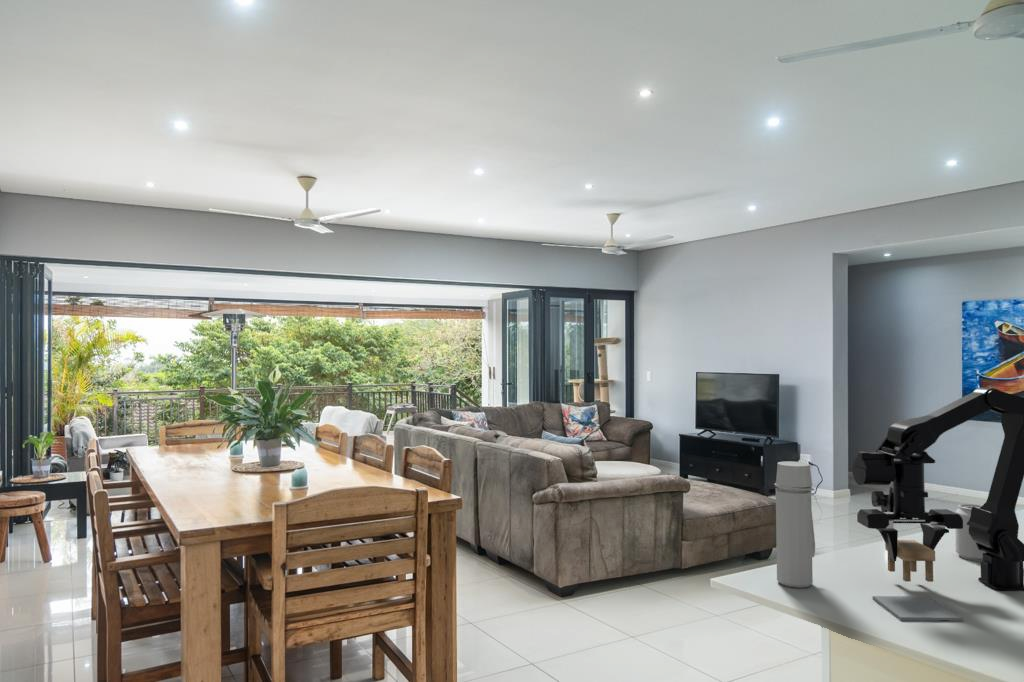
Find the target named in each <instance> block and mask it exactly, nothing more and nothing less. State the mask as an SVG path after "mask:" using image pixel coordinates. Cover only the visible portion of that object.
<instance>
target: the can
mask: <svg viewBox="0 0 1024 682" xmlns="http://www.w3.org/2000/svg"><path fill="white" fill-rule="evenodd" d="M983 505H984V504H975V503H961V504H958V505H957V506H958V508H957V509H956V510H955V511H954V512H955V513H957V514H959V515H960V516H961V517H962V519H963V528H962V529H954V530H955V533H954V534H955V552H956V554H958V555H959V557H960V558H962V559H964V560H965V559H966V560H969V561H973V562H974V561H975V562H981V561H983V553H986V552H984V551H982V550H979V549H978V547H977V545H976V542H975V541H974V540H973V539H972V537H971V536H970V534H969V525H967V522H968V521H969V519H970V516H971V509H972V507H977V508H981V507H982V506H983Z"/></svg>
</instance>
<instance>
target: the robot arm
mask: <svg viewBox="0 0 1024 682" xmlns="http://www.w3.org/2000/svg"><path fill="white" fill-rule="evenodd" d="M988 411H992V412H994V413H996V414H997V413H998V414H1000V415H1001V417H1000V424H1001V426H1002V431H1003V434H1004V438H1003V442H1002V445H1001V447H1000V448H1001V449H1000V451H999V455H998V459H997V463H996V467H995V470H994V474H993V477H992V480H991V485H990V488H989V491H988V494H987V495H988V496H987V499H986V501H985V503H983V504H982V505H983V506H982V507H981V508H977V507H972V509H971V516H970V519H969V521H968V522H967V525H969V534H970V536H971V537H972V539H973V540H974V541H975V542H976V545H977V547H978V549H979V550H982V551H984V552H986V553H983V561H980V577H978V579H977V580H978V582H979V581H980V582H981V583H983V584H985V585H986V586H989V587H990V588H992V589H994V590H998V591H1024V542H1022V541H1021V540H1020V539H1019V538H1018V537H1019V529H1020V526H1019V522H1018V517H1017V514H1016V507H1017V506H1016V505H1017V502H1018V499H1019V496H1020V491H1021V489H1022V485H1023V481H1024V396H1021V395H1017V394H1012V393H1008V392H1006V391H1003V390H999V389H998V388H994V387H978V388H976V389H975V390H973V391H972V392H971V393H968V394H967V395H964V396H962V397H961V398H958V399H957V400H954V401H952V402H950V403H948V404H947V405H944V406H942V407H941V408H938V409H937V410H934V411H933V412H931V413H929V414H926V415H923V416H918V417H914V418H908V419H904V420H901V421H898V422H895V423H893V424H891V425H890V426H888V430H887V433H886V434H887V435H886V437H885V438H884V439H883V441H882V442H881V444H879V446H878V448H877V449H876V450H875V452H872V451H870V452H867V451H858V452H857V457H856V458H855V459H854V461H853V464H852V468H851V471H852V476H853V480H854V481H855V483H856V484H857V485H858V486H889V485H890V484H891V483H892V486H889V489H888V490H889V492H888V494H885V493H884V491H883V490H874V491H871V496H870V497H871V498H870V499H871V505H872V507H874V508H875V509H873V508H872V509H871V508H864V509H863V508H860V509H859V511H858V512H857V516H856V517H857V518H856V519H857V520H856V521H857V523H859V524H860V525H862V526H864V527H866V528H867V529H872V530H873V529H874V530H877V531H878V532H879V533H880V535H881V537H882V538H883V540H884V543H886V546H887V549H888V551H889V554H890V557H891V559H892V560H893V561H895V562H896V561H897V558H898V557H897V540H899V539H898V535H899V534H898V532H899V530H897V529H896V528H894V524H919V525H920V528H921V530H922V544H923V545H924V546H926V547H928V548H930V549H932V550H934V551H935V549H936V547H937V545H938V544H939V542H940V541H941V540H942V538H943V537H944V535H945V534H950V530H951V529H952V530H955V529H962V528H963V519H962V517H961V516H960V515H959V514H957V513H955V511H953V510H949V509H947V508H945V509H944V508H941V509H940V508H939V509H938V508H933V509H932V508H930V510H929V511H928V512H927V511H926V503H925V502H926V501H925V499H926V498H929V492H928V491H925V464H935V463H936V460H935V459H934V458H933V457H932V456H930V455H929V454H928V452H927V451H925V450H927V449H928V448H931V446H933V445H934V444H935V443H936V442H937V440H938V439H939V438H940V436H941V435H943V434H944V433H947V432H948V431H950V430H952V429H954V428H956V427H958V426H960V425H962V424H964V423H966V422H968V421H970V420H972V419H974V418H976V417H977V416H980V415H981V414H982V415H983V414H984V413H987V412H988ZM877 508H880V509H877ZM888 512H889V513H888ZM888 551H887V552H888Z"/></svg>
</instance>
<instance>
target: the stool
mask: <svg viewBox="0 0 1024 682" xmlns="http://www.w3.org/2000/svg"><path fill="white" fill-rule="evenodd" d="M884 543H885V542H884ZM884 547H885V551H887V570H888V572H892V573H893V572H894V573H895V572H896V561H893V560H892V559H891V557H890V554H889V551H888V549H887V546H886V543H885V544H884ZM897 558H899V559H900V560H902V580H903V581H904V582H907V583H908V582H910V583H911V581H912V579H911V578H912V577H911V575H912V574H911V572H913V573H916V572H917V570H918V569H917V567H918V565H917V562H924V569H925V570H924V571H925V573H924V576H925V577H924V578H925V581H926V582H930V583H931V582H934V562H936V551H935V549H934V550H932V549H930V548H928V547H926V546H924V545H923V543H921V542H919V541H916V540H915V539H911V540H910V539H897Z"/></svg>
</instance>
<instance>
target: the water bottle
mask: <svg viewBox="0 0 1024 682" xmlns="http://www.w3.org/2000/svg"><path fill="white" fill-rule="evenodd" d="M775 478H776V479H775V483H774V484H773V485H774V486H775V523H776V524H775V525H776V526H775V527H776V528H775V535H776V538H775V539H776V541H775V543H776V544H775V545H776V580H777V582H778V583H779V584H781V585H783V586H784V587H785V586H786V587H790V588H794V587H795V589H805V588H808V587H810V586H812V584H813V582H814V581H813V580H814V579H813V558H815V554H816V541H815V528H814V521H813V511H812V491H815V490H816V488H814V487H813V480H812V479H813V478H812V473H811V464H810V463H808V462H804V461H792V460H790V461H786V460H785V461H778V462H777V467H776V477H775Z"/></svg>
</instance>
